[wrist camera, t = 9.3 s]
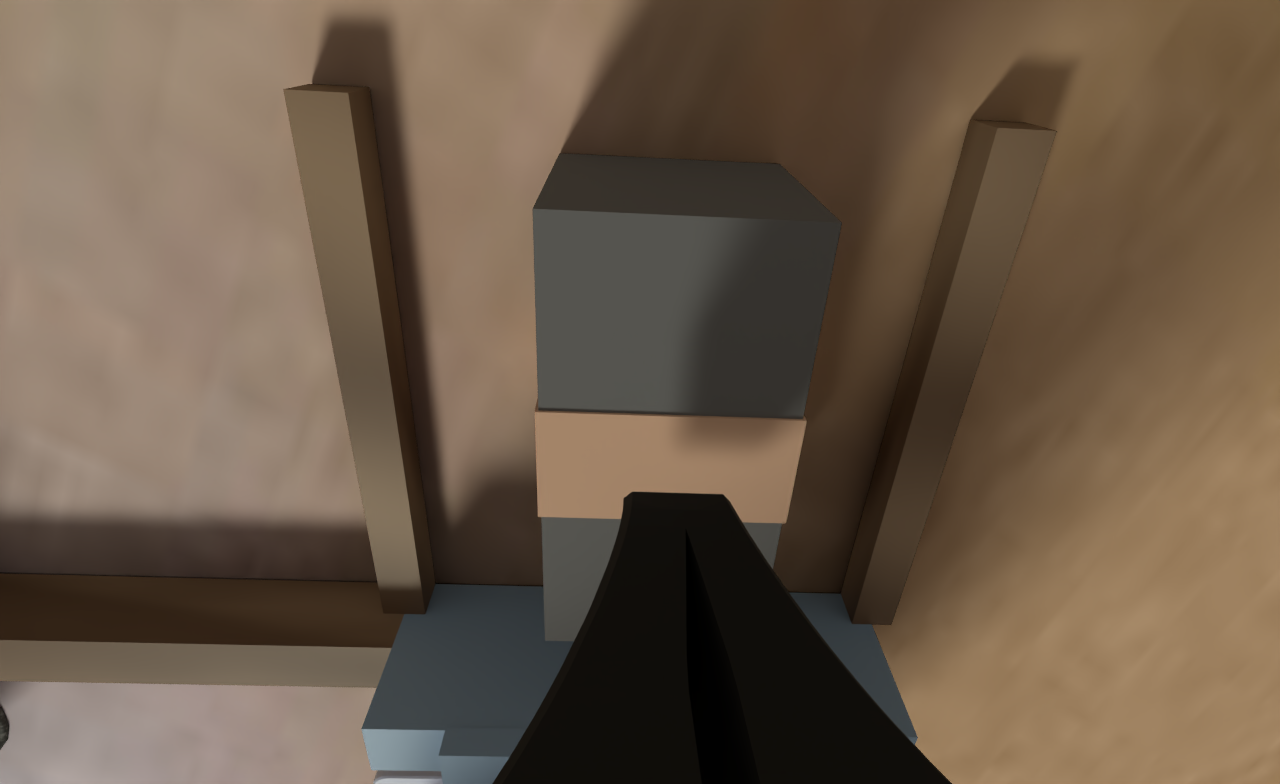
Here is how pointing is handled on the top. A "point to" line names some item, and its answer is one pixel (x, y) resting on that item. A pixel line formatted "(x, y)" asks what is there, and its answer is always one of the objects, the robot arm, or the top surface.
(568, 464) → the grey and tan block
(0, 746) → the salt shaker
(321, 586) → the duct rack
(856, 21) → the top surface
